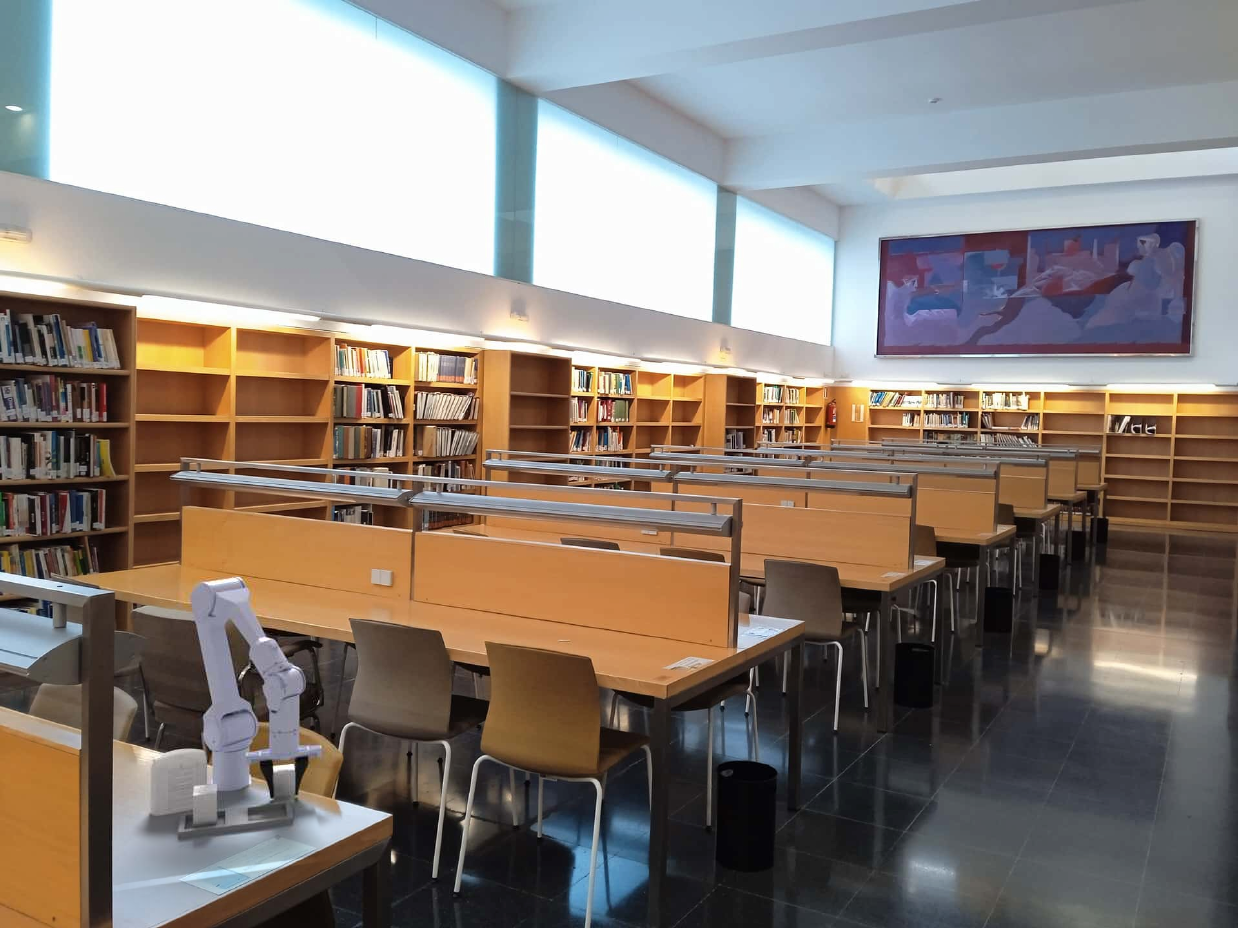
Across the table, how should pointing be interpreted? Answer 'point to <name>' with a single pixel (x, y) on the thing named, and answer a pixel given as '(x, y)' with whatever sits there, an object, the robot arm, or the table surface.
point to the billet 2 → (284, 783)
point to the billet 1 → (205, 806)
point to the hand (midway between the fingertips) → (283, 795)
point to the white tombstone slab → (176, 780)
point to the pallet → (239, 819)
